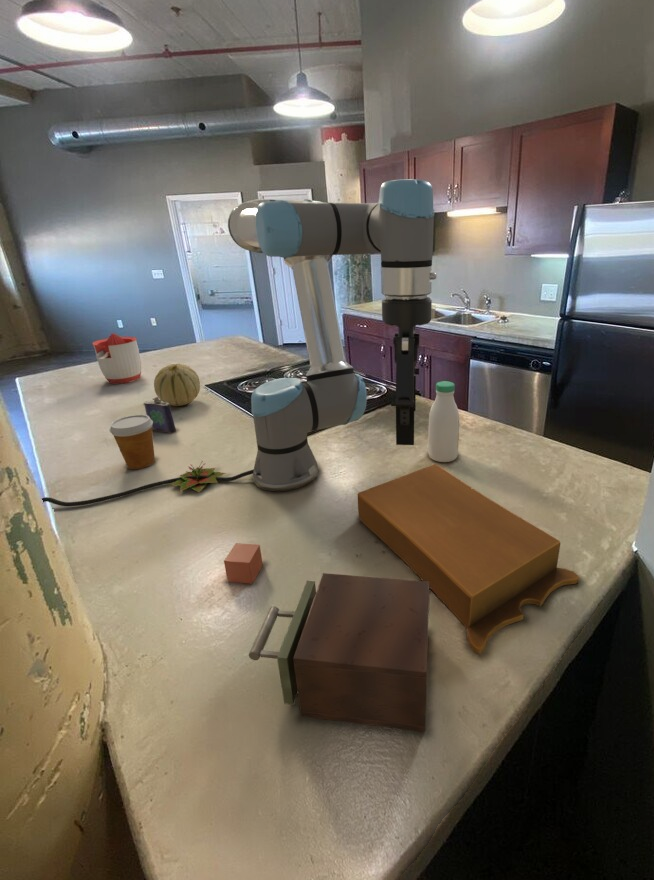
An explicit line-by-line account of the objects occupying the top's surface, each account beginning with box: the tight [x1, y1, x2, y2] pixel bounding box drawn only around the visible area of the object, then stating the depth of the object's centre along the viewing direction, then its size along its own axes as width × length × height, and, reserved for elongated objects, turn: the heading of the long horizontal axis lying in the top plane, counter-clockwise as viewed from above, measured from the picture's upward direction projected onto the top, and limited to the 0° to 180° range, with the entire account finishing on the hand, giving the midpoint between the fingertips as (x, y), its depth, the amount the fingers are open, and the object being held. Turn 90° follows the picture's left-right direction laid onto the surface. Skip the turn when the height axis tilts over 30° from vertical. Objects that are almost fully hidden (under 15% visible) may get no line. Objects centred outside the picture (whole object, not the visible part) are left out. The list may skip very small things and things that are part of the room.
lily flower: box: [170, 460, 227, 493], centre depth 99 cm, size 12×12×5 cm
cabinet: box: [293, 572, 430, 732], centre depth 53 cm, size 15×13×10 cm
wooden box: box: [356, 463, 580, 654], centre depth 75 cm, size 23×6×35 cm
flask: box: [143, 396, 177, 434], centre depth 126 cm, size 9×3×11 cm, turn 71°
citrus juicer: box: [92, 332, 142, 384], centre depth 172 cm, size 16×17×20 cm
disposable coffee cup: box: [109, 414, 156, 470], centre depth 106 cm, size 10×10×12 cm
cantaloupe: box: [153, 363, 201, 407], centre depth 145 cm, size 15×15×15 cm
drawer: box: [248, 580, 317, 706], centre depth 54 cm, size 18×12×8 cm, turn 83°
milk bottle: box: [427, 380, 460, 463], centre depth 105 cm, size 8×8×20 cm
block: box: [223, 542, 264, 585], centre depth 71 cm, size 4×4×4 cm
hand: (406, 425), depth 70 cm, fingers open, 13 cm apart
